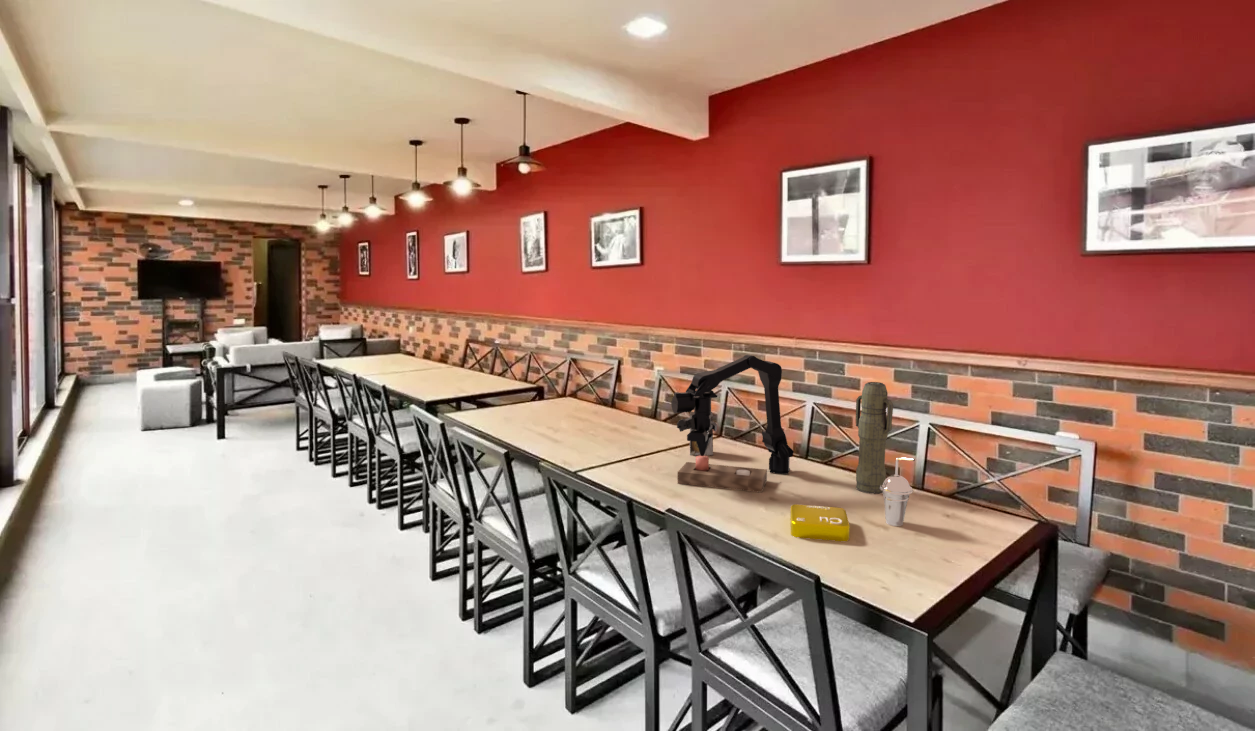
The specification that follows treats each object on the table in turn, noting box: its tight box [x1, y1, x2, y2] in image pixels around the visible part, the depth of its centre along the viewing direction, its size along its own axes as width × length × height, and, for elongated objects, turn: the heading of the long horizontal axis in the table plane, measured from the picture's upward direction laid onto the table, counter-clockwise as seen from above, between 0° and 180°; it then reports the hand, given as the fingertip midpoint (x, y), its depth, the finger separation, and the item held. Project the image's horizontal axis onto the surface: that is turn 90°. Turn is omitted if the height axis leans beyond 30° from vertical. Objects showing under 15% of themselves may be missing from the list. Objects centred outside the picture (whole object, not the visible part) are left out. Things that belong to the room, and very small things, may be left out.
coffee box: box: [689, 411, 714, 456], centre depth 248 cm, size 9×6×16 cm
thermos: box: [855, 381, 894, 495], centre depth 203 cm, size 9×12×35 cm
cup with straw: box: [880, 456, 915, 527], centre depth 176 cm, size 8×9×20 cm
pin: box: [736, 470, 750, 476], centre depth 211 cm, size 4×4×4 cm
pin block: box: [677, 461, 768, 493], centre depth 214 cm, size 28×12×4 cm, turn 70°
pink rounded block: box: [695, 455, 710, 471], centre depth 215 cm, size 4×4×4 cm
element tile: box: [789, 503, 851, 542], centre depth 174 cm, size 15×15×5 cm
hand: (702, 455), depth 215 cm, fingers closed
